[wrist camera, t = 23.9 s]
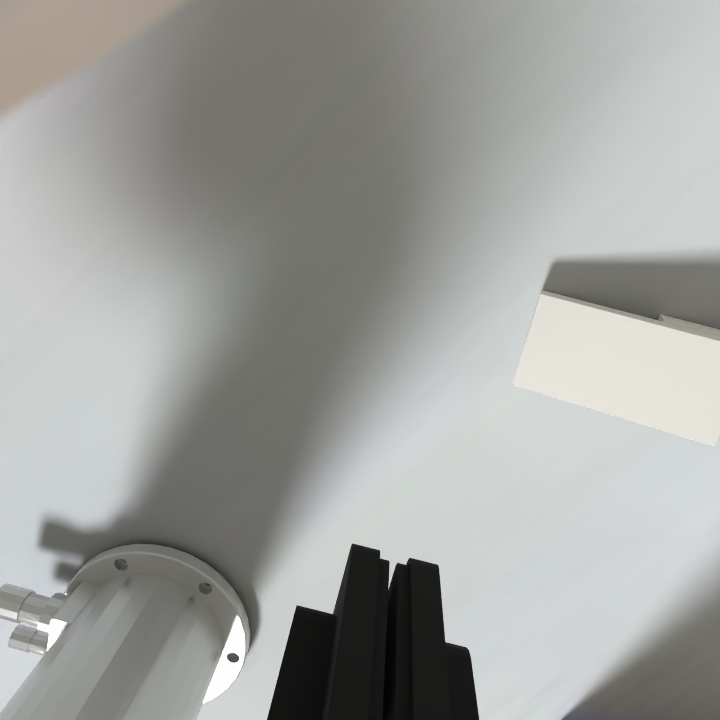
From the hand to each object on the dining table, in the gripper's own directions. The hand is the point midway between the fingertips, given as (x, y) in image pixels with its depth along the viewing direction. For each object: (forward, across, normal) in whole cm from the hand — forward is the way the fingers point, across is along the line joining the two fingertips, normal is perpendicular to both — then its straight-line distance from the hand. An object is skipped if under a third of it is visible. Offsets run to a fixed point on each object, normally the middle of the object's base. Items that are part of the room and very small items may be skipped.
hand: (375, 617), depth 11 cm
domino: (+22, -7, -2) cm, 23 cm away
